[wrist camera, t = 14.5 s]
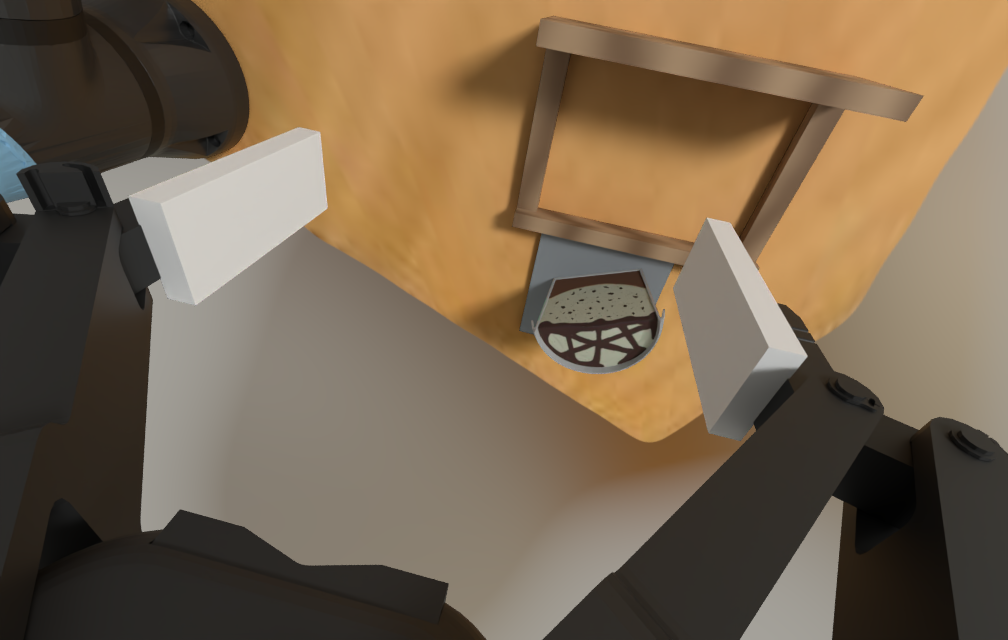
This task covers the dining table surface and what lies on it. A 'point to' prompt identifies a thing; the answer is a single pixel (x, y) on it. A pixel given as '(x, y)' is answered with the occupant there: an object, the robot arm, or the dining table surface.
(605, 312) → the food container
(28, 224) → the robot arm
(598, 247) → the mat
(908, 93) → the wooden frame
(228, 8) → the dining table surface
